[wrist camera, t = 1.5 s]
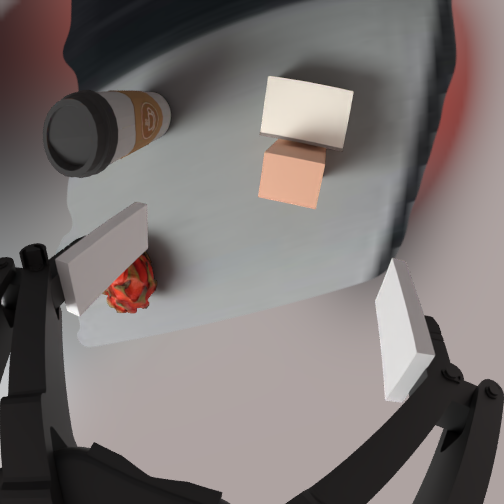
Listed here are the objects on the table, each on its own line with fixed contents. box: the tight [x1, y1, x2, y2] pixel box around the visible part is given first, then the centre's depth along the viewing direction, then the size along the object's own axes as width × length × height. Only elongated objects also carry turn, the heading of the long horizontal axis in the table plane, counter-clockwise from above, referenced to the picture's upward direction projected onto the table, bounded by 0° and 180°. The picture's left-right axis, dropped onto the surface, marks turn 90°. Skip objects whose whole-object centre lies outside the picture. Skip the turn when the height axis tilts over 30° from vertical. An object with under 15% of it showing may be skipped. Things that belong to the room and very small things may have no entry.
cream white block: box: [260, 76, 353, 152], centre depth 30 cm, size 6×8×5 cm
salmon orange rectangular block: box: [258, 139, 326, 209], centre depth 30 cm, size 4×5×10 cm
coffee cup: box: [43, 90, 171, 178], centre depth 30 cm, size 8×8×15 cm
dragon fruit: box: [102, 252, 157, 313], centre depth 45 cm, size 8×8×12 cm
